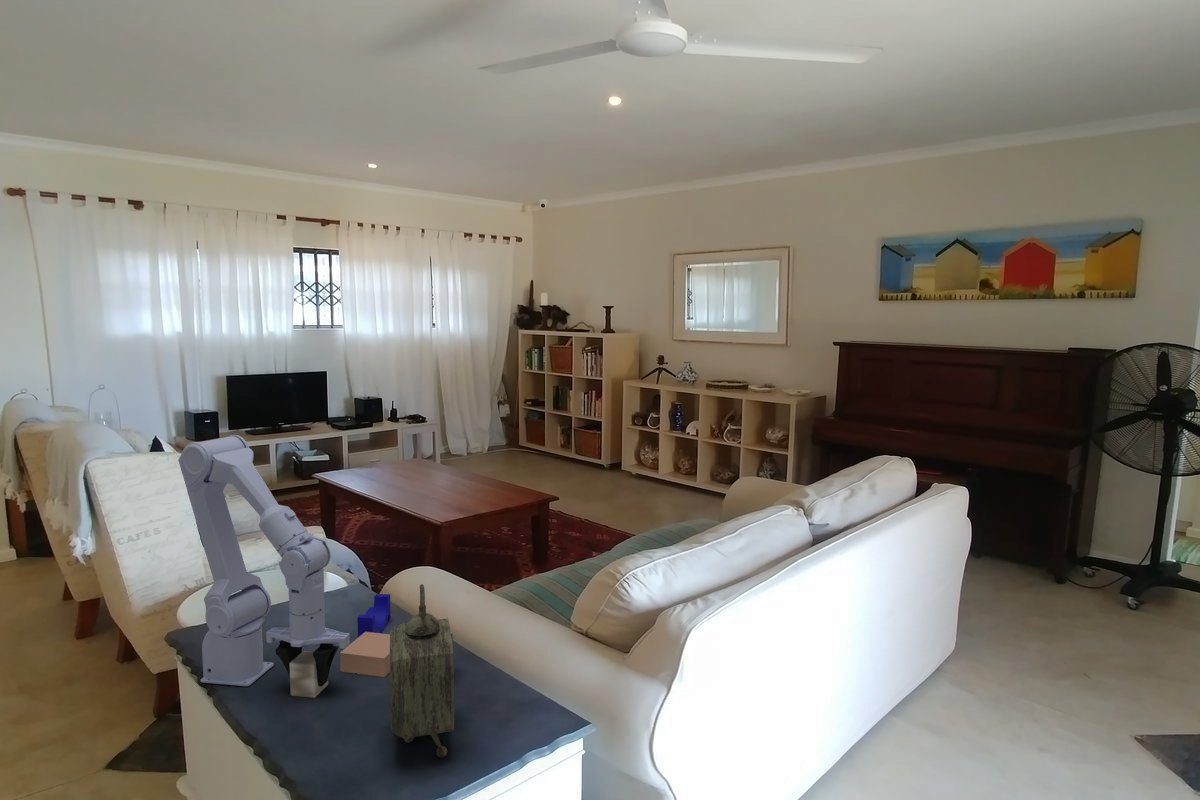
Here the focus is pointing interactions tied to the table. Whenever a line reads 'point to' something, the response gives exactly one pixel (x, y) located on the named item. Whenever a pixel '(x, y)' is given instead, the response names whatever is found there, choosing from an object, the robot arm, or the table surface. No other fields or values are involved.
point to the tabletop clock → (422, 677)
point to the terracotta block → (367, 655)
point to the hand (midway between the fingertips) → (309, 682)
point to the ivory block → (304, 676)
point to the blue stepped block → (375, 616)
